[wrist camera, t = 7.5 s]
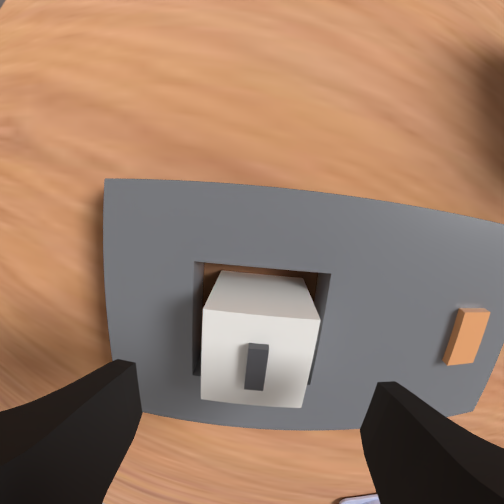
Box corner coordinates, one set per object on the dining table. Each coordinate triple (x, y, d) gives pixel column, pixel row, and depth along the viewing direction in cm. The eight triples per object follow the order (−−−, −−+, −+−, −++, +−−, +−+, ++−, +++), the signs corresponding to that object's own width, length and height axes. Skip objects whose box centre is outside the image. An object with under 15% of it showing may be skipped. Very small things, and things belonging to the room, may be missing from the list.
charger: (291, 348, 16) (302, 414, 11) (217, 341, 16) (198, 405, 11) (302, 277, 15) (322, 325, 10) (221, 269, 15) (200, 313, 10)
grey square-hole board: (457, 391, 16) (476, 416, 13) (135, 382, 17) (116, 412, 14) (505, 225, 14) (538, 233, 11) (128, 179, 14) (97, 178, 11)
